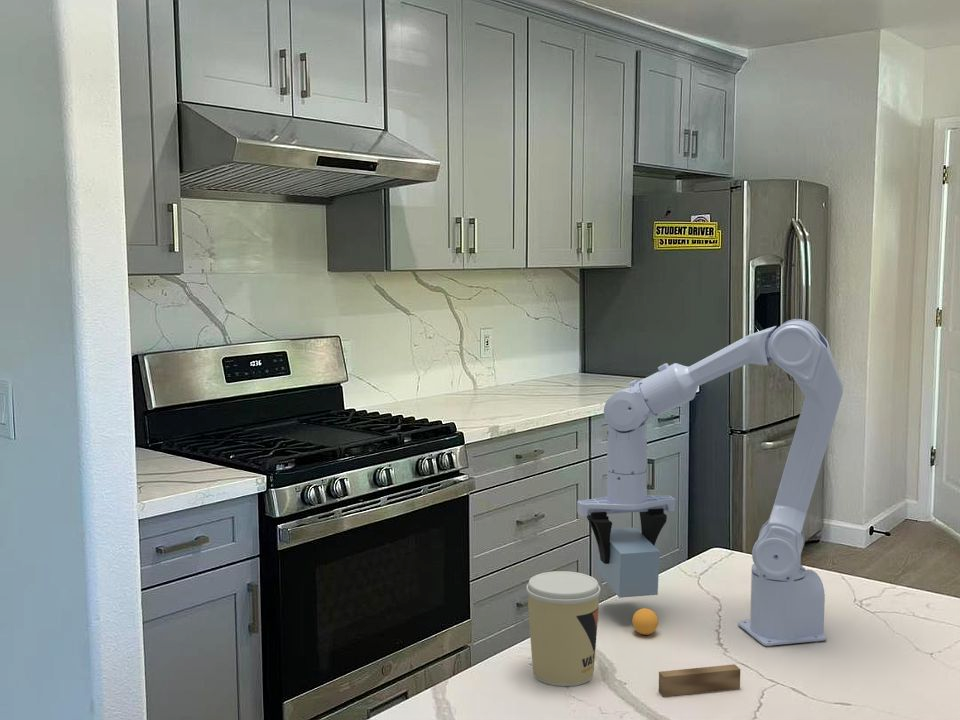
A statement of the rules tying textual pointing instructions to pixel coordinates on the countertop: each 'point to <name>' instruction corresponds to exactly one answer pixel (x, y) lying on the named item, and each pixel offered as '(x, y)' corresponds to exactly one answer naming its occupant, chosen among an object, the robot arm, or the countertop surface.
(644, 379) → the robot arm
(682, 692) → the brown rectangular block
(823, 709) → the countertop surface
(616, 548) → the blue-grey rectangular block
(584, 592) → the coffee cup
